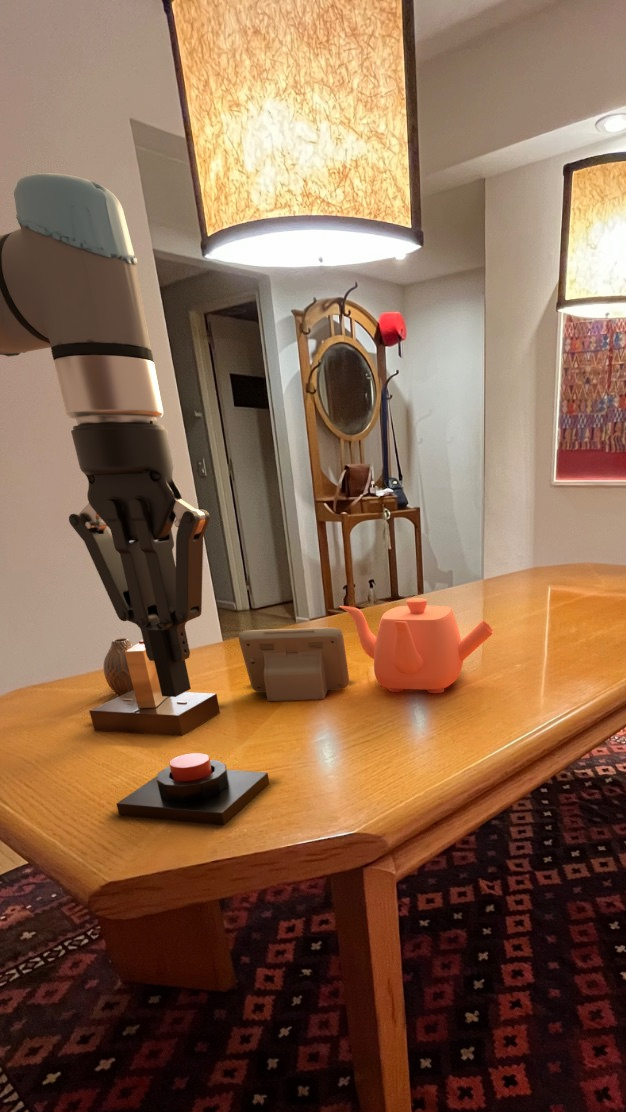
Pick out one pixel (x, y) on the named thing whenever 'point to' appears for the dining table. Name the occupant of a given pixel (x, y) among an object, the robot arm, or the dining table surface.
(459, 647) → the teapot
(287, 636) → the digital clock
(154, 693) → the handle
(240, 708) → the dining table surface
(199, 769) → the button
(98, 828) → the dining table surface
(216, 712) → the panel
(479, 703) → the dining table surface
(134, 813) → the button block
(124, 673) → the vase
